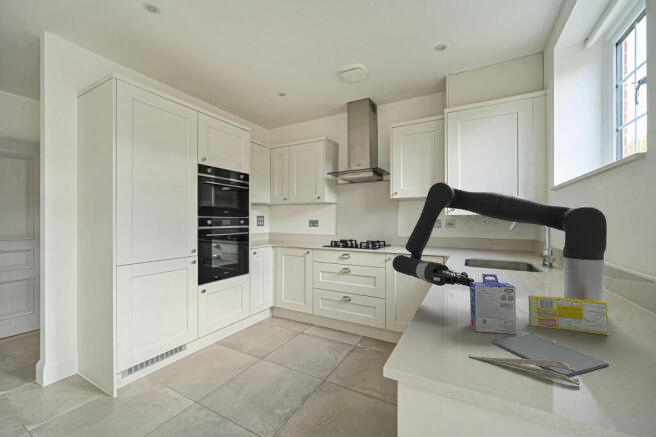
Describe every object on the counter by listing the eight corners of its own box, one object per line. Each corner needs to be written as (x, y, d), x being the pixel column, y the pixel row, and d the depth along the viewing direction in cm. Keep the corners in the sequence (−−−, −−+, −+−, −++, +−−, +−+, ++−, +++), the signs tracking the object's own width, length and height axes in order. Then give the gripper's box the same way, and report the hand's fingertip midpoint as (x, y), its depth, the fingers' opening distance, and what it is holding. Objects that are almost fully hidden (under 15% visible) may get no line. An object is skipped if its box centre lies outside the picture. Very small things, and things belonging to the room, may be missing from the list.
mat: (531, 335, 68) (531, 333, 68) (608, 365, 54) (608, 363, 54) (492, 342, 64) (492, 340, 64) (564, 377, 50) (564, 374, 50)
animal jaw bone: (573, 369, 50) (573, 360, 50) (581, 389, 47) (580, 379, 46) (469, 354, 60) (468, 346, 59) (468, 369, 56) (467, 361, 56)
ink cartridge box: (508, 326, 74) (507, 273, 74) (518, 335, 68) (517, 278, 68) (469, 324, 76) (468, 272, 76) (475, 332, 70) (475, 276, 70)
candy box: (604, 332, 70) (604, 300, 70) (609, 336, 68) (608, 303, 68) (528, 323, 76) (528, 293, 76) (530, 325, 74) (530, 295, 74)
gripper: (416, 262, 93) (453, 271, 76) (447, 260, 97) (489, 268, 80) (416, 284, 93) (454, 298, 76) (447, 281, 97) (490, 293, 80)
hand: (472, 283), depth 78 cm, fingers closed
